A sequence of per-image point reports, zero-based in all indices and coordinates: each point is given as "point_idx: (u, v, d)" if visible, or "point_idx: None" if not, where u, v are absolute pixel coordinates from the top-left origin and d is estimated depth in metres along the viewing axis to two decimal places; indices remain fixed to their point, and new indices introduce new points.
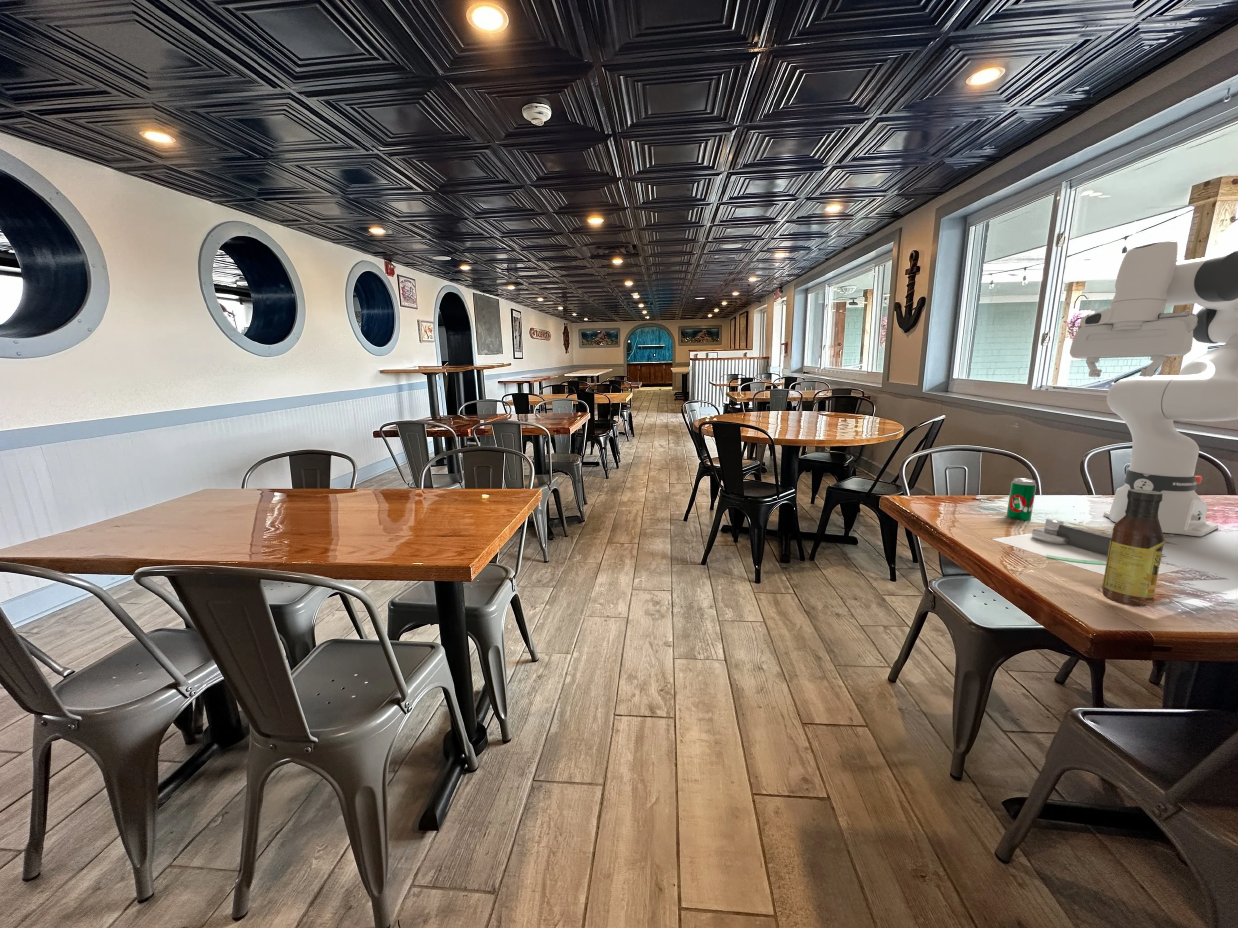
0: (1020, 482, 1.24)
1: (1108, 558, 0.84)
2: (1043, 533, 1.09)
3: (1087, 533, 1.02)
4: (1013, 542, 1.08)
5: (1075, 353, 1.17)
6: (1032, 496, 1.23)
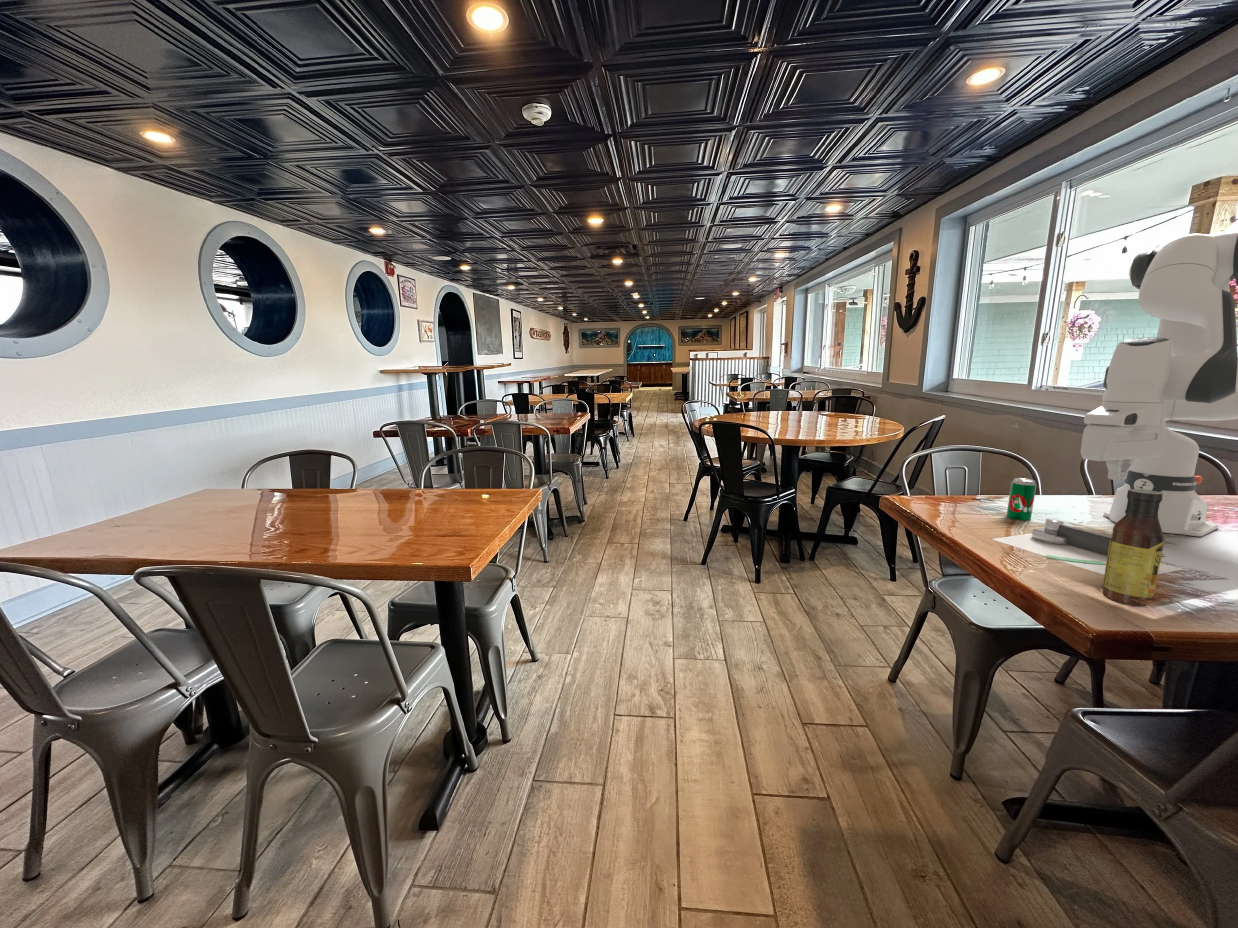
0: (1020, 482, 1.24)
1: (1108, 558, 0.84)
2: (1043, 533, 1.09)
3: (1087, 533, 1.02)
4: (1013, 542, 1.08)
5: (1105, 456, 0.97)
6: (1032, 496, 1.23)
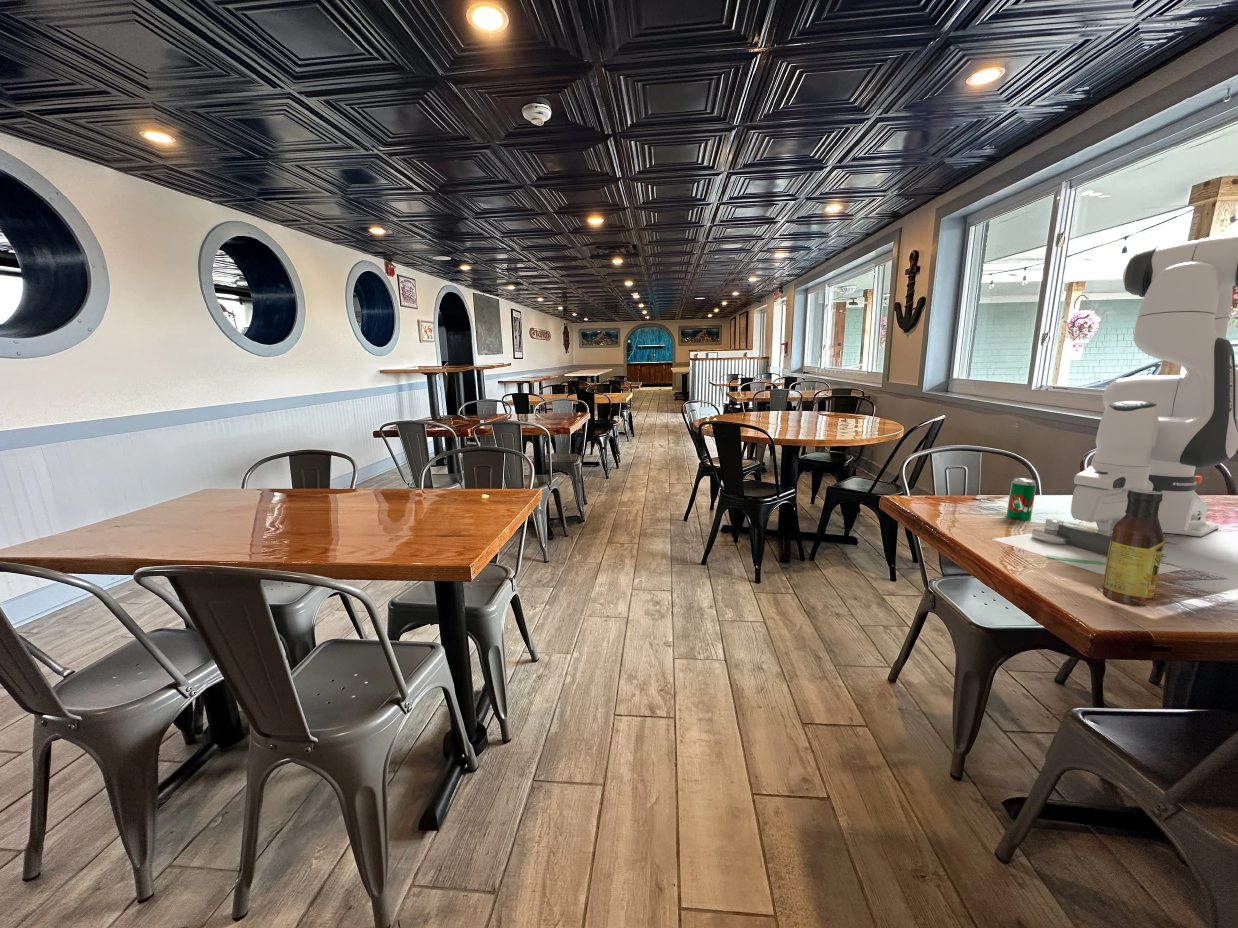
0: (1020, 482, 1.24)
1: (1108, 558, 0.84)
2: (1043, 533, 1.09)
3: (1087, 533, 1.02)
4: (1013, 542, 1.08)
5: (1095, 518, 1.00)
6: (1032, 496, 1.23)
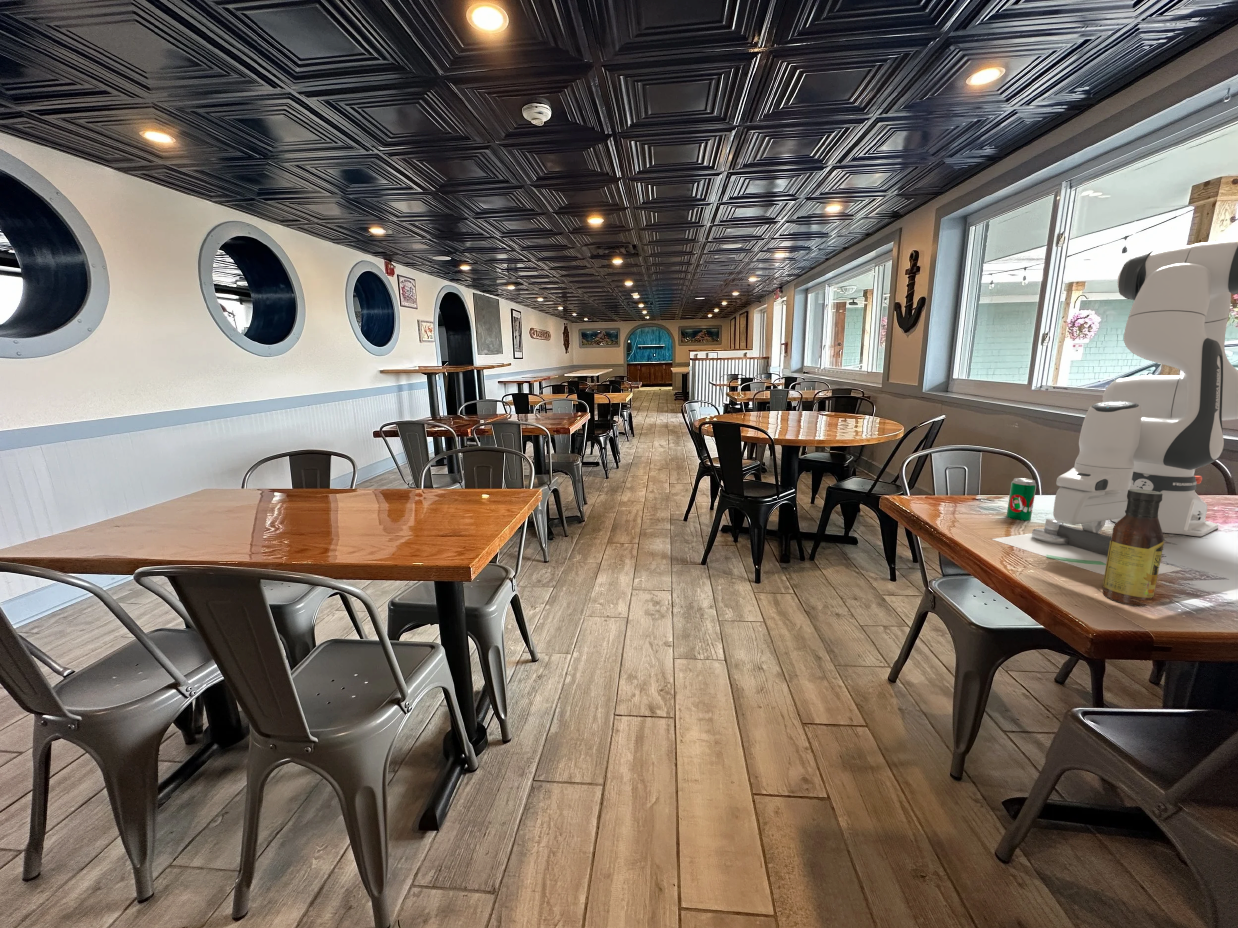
0: (1020, 482, 1.24)
1: (1108, 558, 0.84)
2: (1043, 533, 1.09)
3: (1087, 533, 1.02)
4: (1013, 542, 1.08)
5: (1077, 521, 0.98)
6: (1032, 496, 1.23)
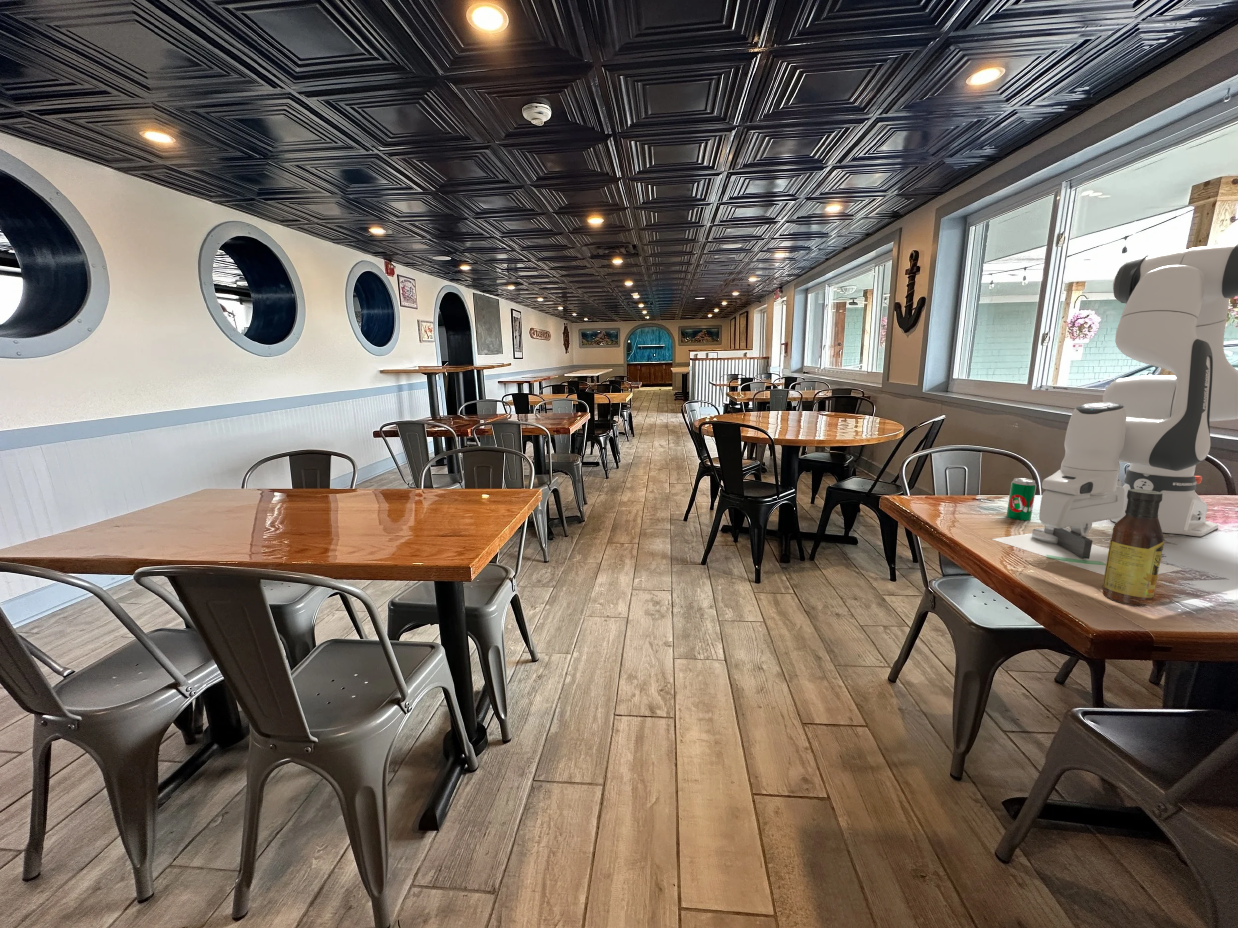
0: (1020, 482, 1.24)
1: (1108, 558, 0.84)
2: (1040, 531, 1.10)
3: (1068, 533, 1.02)
4: (1013, 542, 1.08)
5: (1063, 524, 0.98)
6: (1032, 496, 1.23)
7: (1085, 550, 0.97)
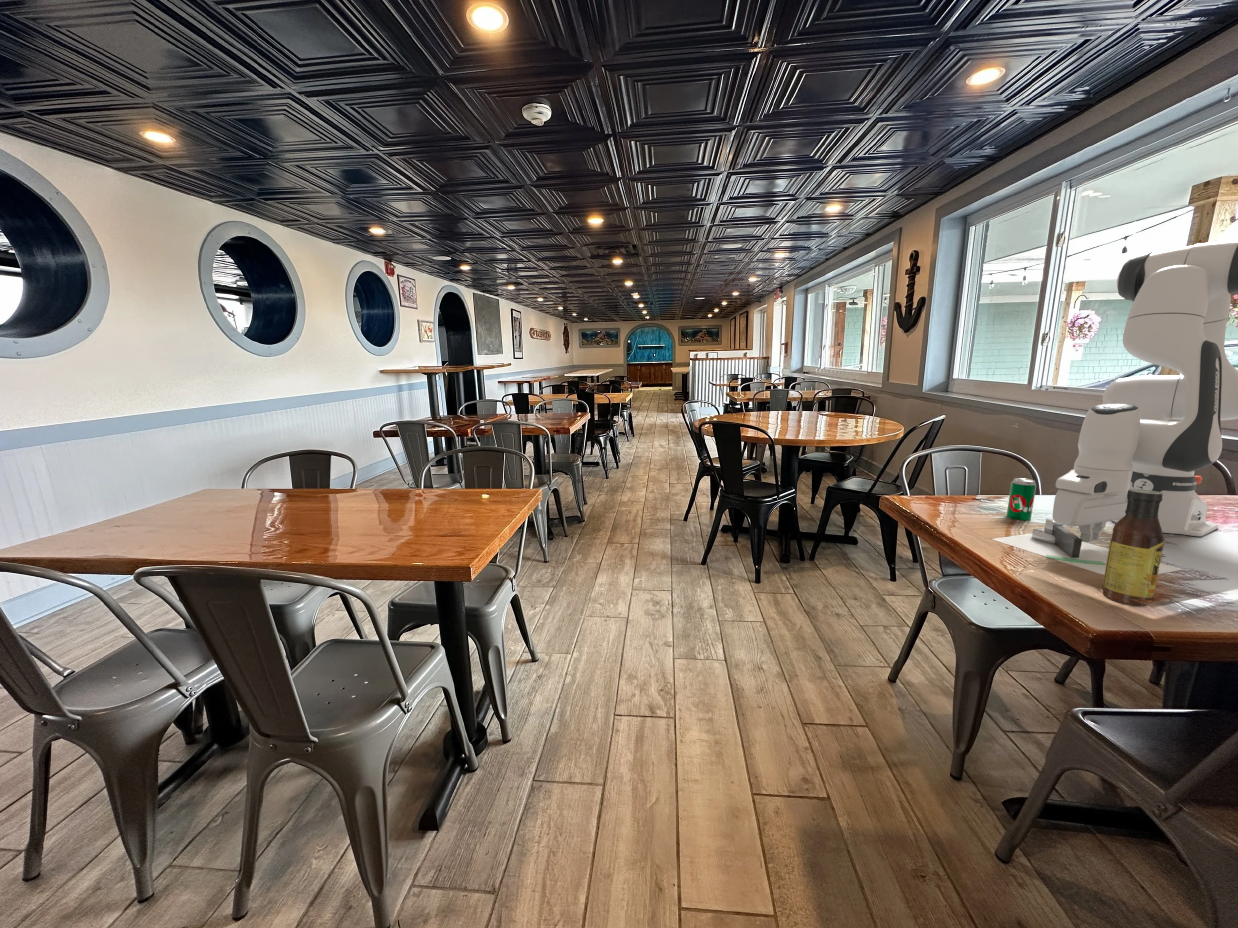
0: (1020, 482, 1.24)
1: (1108, 558, 0.84)
2: (1039, 531, 1.10)
3: (1063, 532, 1.03)
4: (1013, 542, 1.08)
5: (1076, 523, 0.99)
6: (1032, 496, 1.23)
7: (1074, 549, 0.98)
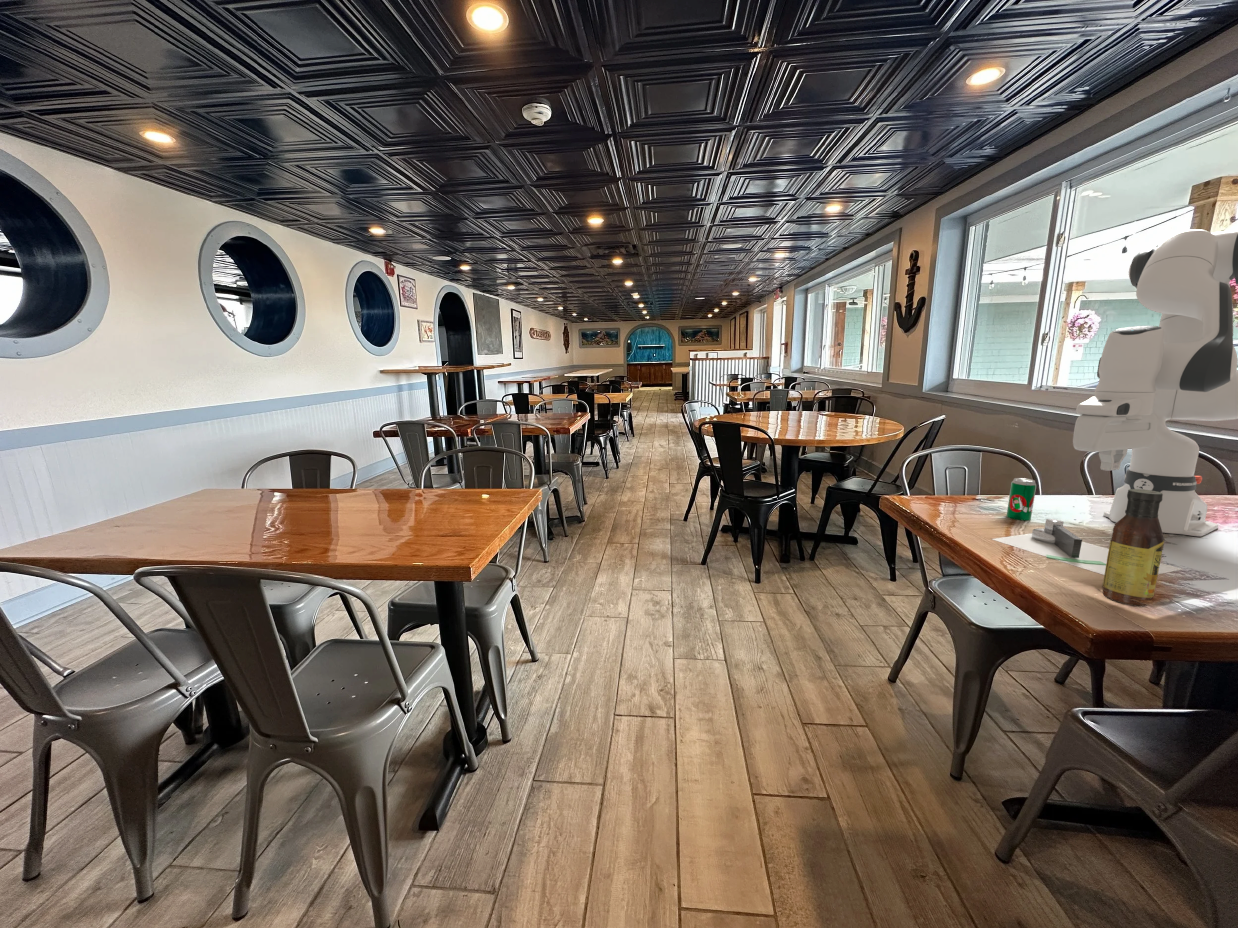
0: (1020, 482, 1.24)
1: (1108, 558, 0.84)
2: (1039, 531, 1.10)
3: (1063, 532, 1.03)
4: (1013, 542, 1.08)
5: (1098, 447, 0.96)
6: (1032, 496, 1.23)
7: (1074, 549, 0.98)
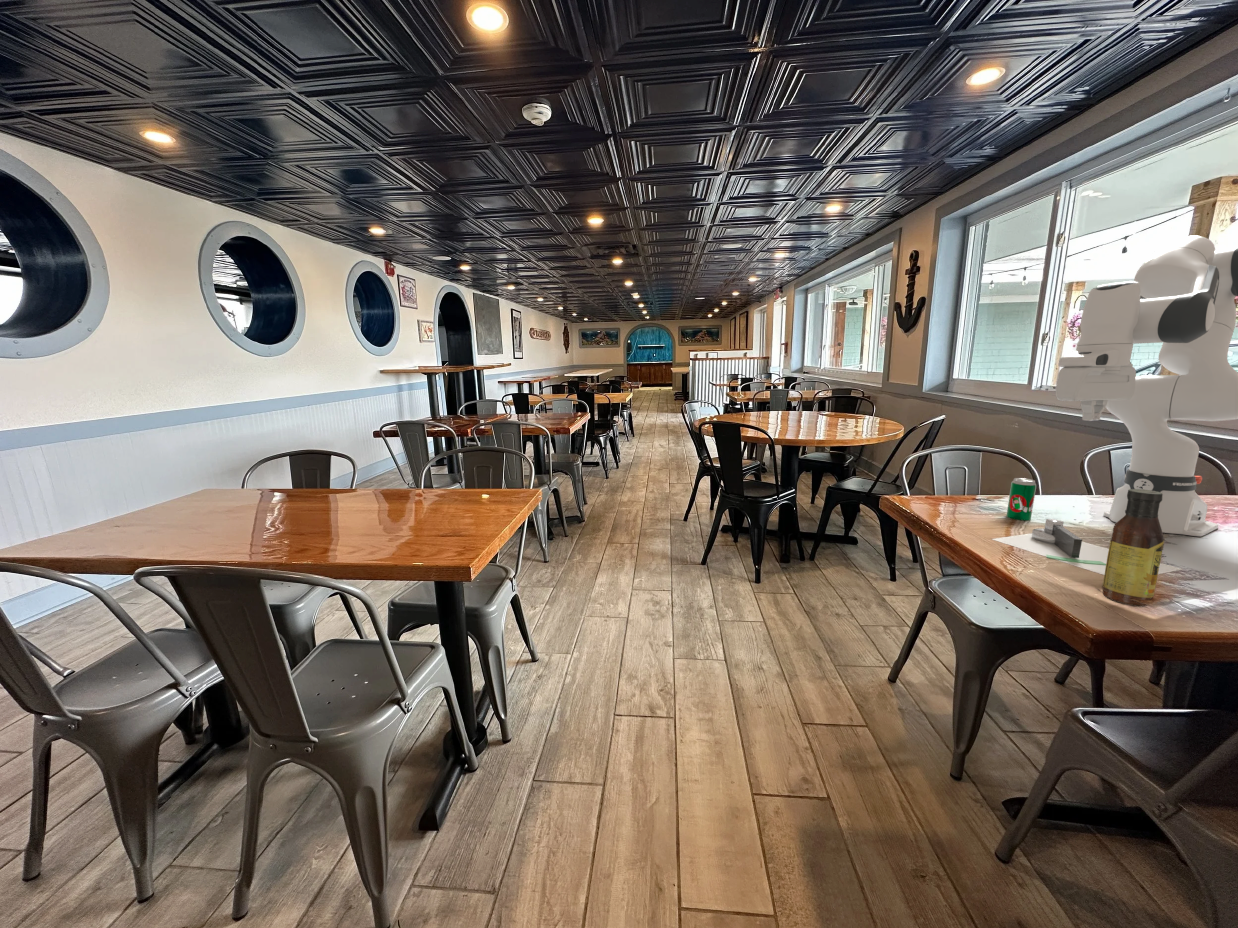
0: (1020, 482, 1.24)
1: (1108, 558, 0.84)
2: (1039, 531, 1.10)
3: (1063, 532, 1.03)
4: (1013, 542, 1.08)
5: (1078, 396, 1.02)
6: (1032, 496, 1.23)
7: (1074, 549, 0.98)
